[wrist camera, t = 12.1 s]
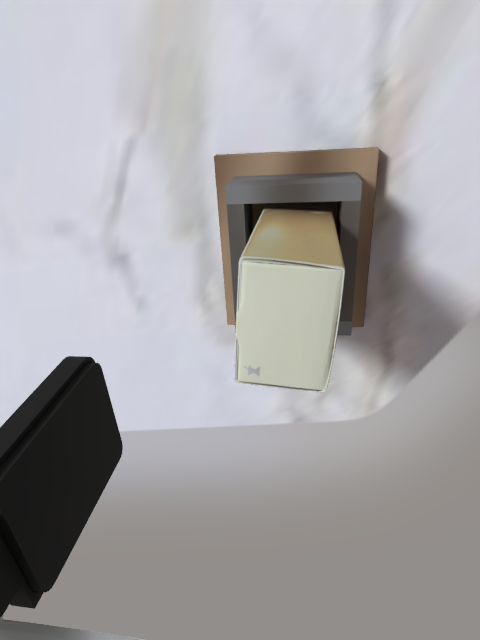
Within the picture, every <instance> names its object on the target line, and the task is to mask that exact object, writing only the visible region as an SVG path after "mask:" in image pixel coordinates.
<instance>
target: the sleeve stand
mask: <svg viewBox="0 0 480 640" xmlns="http://www.w3.org/2000/svg"><path fill="white" fill-rule="evenodd" d="M378 155H379V148H377V147H376V148H354V149H333V150H311V151H290V152H268V153H247V154H225V155H216V156H214V162H215V174H216V187H217V199H218V211H219V224H220V236H221V248H222V261H223V273H224V285H225V297H226V310H227V322H228V325H235V328H236V313H237V290H238V270H239V259H240V257H241V255H242V253H243V251H244V249H245V247H246V245H247V243H248V241H249V238H250V236H251V234H252V232H253V230H254V228H255V226H256V224H257V222H258V220H259V217H260V215H261V213H262V211H263V209H264V207H265V205H266V203H294V202H300V203H311V204H321V205H329V206H331V207H332V211H333V216H334V222H335V226H336V231H337V235H338V240H339V244H340V249H341V253H342V258H343V263H344V267H345V277H344V285H343V294H342V303H341V311H340V318H339V326H338V332H337V335H351V330H352V327H364V317H365V305H366V294H367V282H368V271H369V259H370V248H371V236H372V225H373V213H374V201H375V190H376V178H377V167H378Z"/></svg>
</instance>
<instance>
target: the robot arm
mask: <svg viewBox="0 0 480 640" xmlns="http://www.w3.org/2000/svg"><path fill="white" fill-rule="evenodd" d="M121 455H122V441H121V437H120V433H119V430H118V426H117V423H116V419H115V415H114V412H113V408H112V404H111V401H110V397H109V393H108V390H107V386H106V382H105V379H104V375H103V372H102V368H101V366H100V365H99V364H98V363H95V361H94V360H93V358H91V357H73V356H69V357H66V358H65V359H64V360H63V361H62V362H61V363H60V364H59V365H58V366H57V367H56V368H55V369H54V370H53V371H52V372H51V374H50V375H49V376H48V377H47V378H46V379H45V380H44V381H43V382H42V383H41V384H40V385H39V386H38V388H37V389H36V390H35V391H34V392H33V393H32V394H31V395H30V396H29V397H28V398H27V399H26V400H25V402H24V403H23V404H22V405H21V406H20V407H19V408H18V409H17V410H16V411H15V412H14V413H13V414H12V416H11V417H10V418H9V419H8V420H7V421H6V422H5V423H4V424H3V425H2V426H1V427H0V640H147V639H140V638H133V637H126V636H119V635H112V634H105V633H98V632H91V631H84V630H78V629H71V628H64V627H56V626H49V625H43V624H36V623H28V622H20V621H11V620H3V613H4V612H5V610H6V609H7V607H8V605H9V604H11V605H13V606H20V607H27V608H35V607H36V605H37V603H38V601H39V600H40V598H41V596H42V594H43V592H47V591H49V590H50V589H51V588H52V586H53V585H54V583H55V581H56V579H57V578H58V576H59V574H60V572H61V570H62V568H63V566H64V564H65V562H66V560H67V559H68V557H69V555H70V553H71V551H72V549H73V547H74V545H75V543H76V541H77V540H78V538H79V536H80V534H81V532H82V530H83V528H84V526H85V524H86V523H87V521H88V518H89V517H90V515H91V513H92V511H93V509H94V507H95V505H96V504H97V502H98V500H99V498H100V496H101V494H102V492H103V490H104V488H105V486H106V485H107V483H108V481H109V479H110V477H111V475H112V473H113V471H114V469H115V467H116V466H117V464H118V462H119V460H120V458H121Z"/></svg>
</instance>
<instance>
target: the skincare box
mask: <svg viewBox="0 0 480 640" xmlns="http://www.w3.org/2000/svg"><path fill="white" fill-rule="evenodd" d="M344 277H345V267H344V263H343V258H342V253H341V249H340V244H339V240H338V235H337V231H336V226H335V222H334V216H333V211H332V207H331V206H329V205H321V204H311V203H300V202H294V203H266V205H265V207H264V209H263V211H262V213H261V215H260V217H259V220H258V222H257V224H256V226H255V228H254V230H253V232H252V234H251V236H250V238H249V241H248V243H247V245H246V247H245V249H244V251H243V253H242V255H241V257H240V259H239V270H238V290H237V313H236V349H235V382H236V383H242V384H251V385H257V386H265V387H274V388H282V389H290V390H299V391H312V392H325V391H326V389H327V385H328V381H329V377H330V372H331V367H332V363H333V358H334V351H335V345H336V339H337V332H338V326H339V318H340V311H341V303H342V294H343V285H344Z"/></svg>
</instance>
